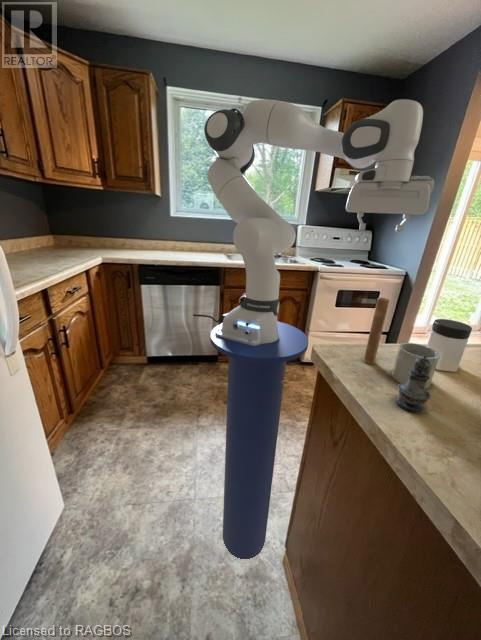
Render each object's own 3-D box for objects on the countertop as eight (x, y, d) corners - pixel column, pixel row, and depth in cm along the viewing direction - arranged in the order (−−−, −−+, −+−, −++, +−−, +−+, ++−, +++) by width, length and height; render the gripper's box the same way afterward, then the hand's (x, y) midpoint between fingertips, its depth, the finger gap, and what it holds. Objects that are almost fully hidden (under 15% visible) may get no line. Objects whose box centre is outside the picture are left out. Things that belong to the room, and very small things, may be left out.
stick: (363, 363, 74) (378, 299, 68) (362, 358, 77) (376, 297, 70) (375, 364, 73) (390, 301, 67) (373, 360, 76) (388, 298, 70)
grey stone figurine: (388, 401, 58) (402, 351, 54) (403, 393, 61) (417, 345, 57) (416, 418, 53) (434, 364, 49) (431, 408, 56) (449, 357, 52)
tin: (395, 384, 65) (404, 354, 62) (389, 368, 72) (396, 340, 69) (434, 391, 62) (445, 361, 60) (423, 374, 70) (432, 346, 67)
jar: (448, 359, 79) (461, 320, 74) (465, 373, 71) (481, 331, 67) (415, 355, 80) (426, 317, 76) (429, 369, 72) (442, 327, 68)
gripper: (432, 177, 72) (418, 232, 76) (350, 177, 77) (341, 228, 82) (441, 173, 66) (425, 233, 71) (351, 173, 71) (342, 229, 76)
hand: (379, 230), depth 76 cm, fingers open, 8 cm apart
